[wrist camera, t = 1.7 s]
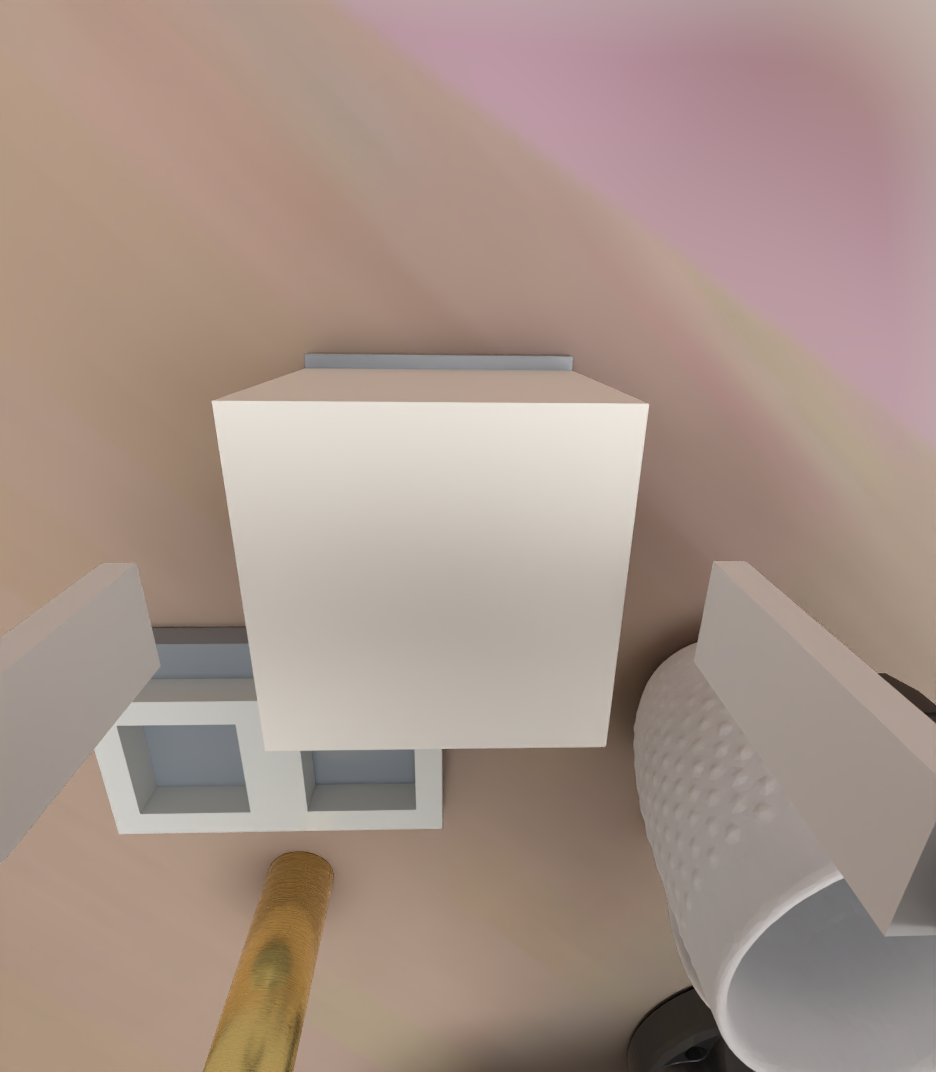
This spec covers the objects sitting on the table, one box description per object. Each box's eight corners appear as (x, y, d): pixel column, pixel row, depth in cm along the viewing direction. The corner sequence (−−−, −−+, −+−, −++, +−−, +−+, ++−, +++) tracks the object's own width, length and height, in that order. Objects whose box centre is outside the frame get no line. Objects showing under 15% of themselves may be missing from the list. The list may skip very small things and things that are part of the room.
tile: (550, 606, 26) (577, 683, 20) (331, 607, 25) (299, 685, 20) (568, 355, 22) (608, 368, 16) (309, 352, 21) (261, 364, 16)
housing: (554, 605, 25) (605, 746, 17) (327, 606, 24) (264, 751, 16) (572, 370, 21) (648, 403, 13) (305, 368, 21) (211, 400, 13)
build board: (443, 805, 30) (442, 856, 27) (158, 810, 29) (127, 861, 27) (441, 626, 26) (440, 663, 23) (111, 627, 25) (70, 666, 23)
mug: (737, 845, 32) (916, 1174, 19) (550, 816, 30) (617, 1148, 18) (860, 618, 26) (1210, 873, 14) (641, 573, 25) (819, 810, 13)
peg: (336, 896, 32) (275, 1204, 21) (272, 897, 32) (177, 1208, 21) (331, 851, 31) (263, 1153, 20) (265, 852, 31) (159, 1157, 20)
